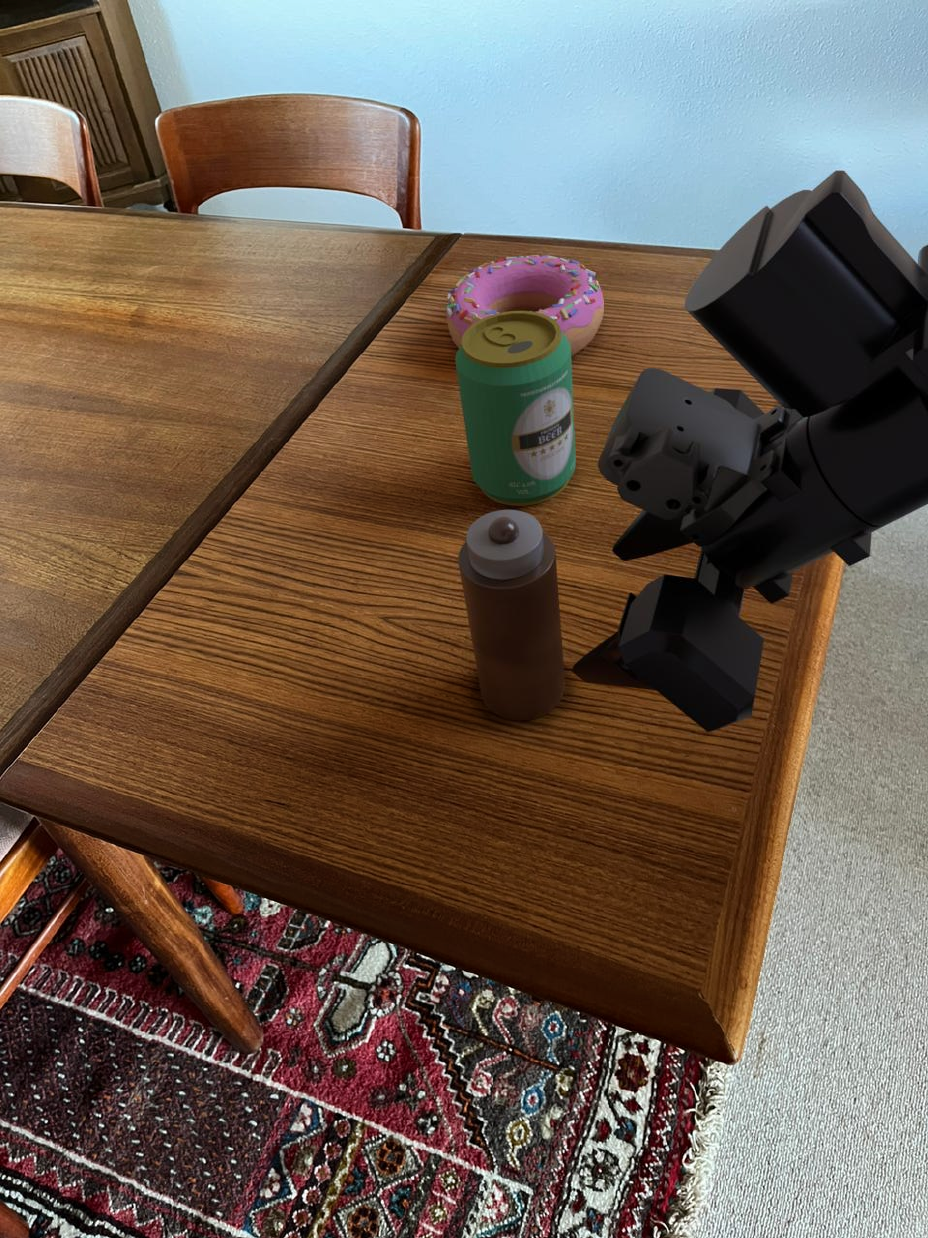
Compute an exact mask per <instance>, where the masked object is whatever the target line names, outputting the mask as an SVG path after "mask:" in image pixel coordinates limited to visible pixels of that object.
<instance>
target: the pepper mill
mask: <svg viewBox="0 0 928 1238" xmlns="http://www.w3.org/2000/svg"><path fill="white" fill-rule="evenodd" d="M461 545H462V546H461V547H460V549H459V553H458V557H457V562H458V563H457V564H458V568H459V569H458V570H459V574H460V581H461V587H462V592H463V597H464V603H465V608H466V609H465V610H466V614H467V621H468V626H469V627H468V628H469V631H470V638H471V644H472V649H473V654H474V655H473V656H474V661H475V667H476V672H477V673H476V674H477V678H478V685H479V688H480V690H479V691H480V696H481V698H482V702H483V703H484V704H485V706H486V707H487V708H488V710H490V711H491V712H492V713H493V714H495V715H496V716H498V717H501V718H503V719H506V720H511V721H515V722H516V721H517V722H519V721H521V722H522V721H525V722H526V721H531V720H535V719H538V718H541V717H544V716H546V715H547V714H549V713H550V712H552V711H553V710H554V709H555V708H556V707H557V706H558V705H559V704H560V703H561V701H562V698H563V697H564V695H565V690H566V681H565V666H564V655H563V653H564V652H563V637H562V636H563V635H562V624H561V623H562V622H561V610H560V597H559V596H560V595H559V594H560V593H559V583H558V582H559V579H558V567H557V552H556V547H555V544H554V541H553V540H552V538H550V536H549V535H548V534H547V533H546V532H545V531H543V528H542V525H541V523H540V522H539V521H538V519H537V518H535V517H534V516H533V515H531V514H529V513H527V512H525V511H521V510H517V509H500V510H493V511H491V512H489V513H486V514H484V515H481V516H480V517H478V518H477V519H476V520H475V521H474V522H472V523H471V525H470V526H469V528H468V529H467V532H466V535H465V541H464V542H463V544H461Z"/></svg>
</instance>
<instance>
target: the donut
mask: <svg viewBox="0 0 928 1238" xmlns="http://www.w3.org/2000/svg"><path fill="white" fill-rule="evenodd" d="M596 274H597V272H595V271H594V270H591V269H589V268H588V269H587V268H586V266H585V265H584V264H582V263H581V262H579V261H577V260H574V259H569V258H563V257H560V258H559V257H557V256H553V255H550V254H547V255H546V254H545V255H539V254H529V255H526V256H524V255H517V256H506V257H504V258H499V259H496V262H494V261H493V260H492V261H490V262H489V261H487V262H485V263H482V264H480V265H478V267H475V268H473V269H471V270H470V271H469V272H467V273H466V274H465V275H464V276H461V277H460V279H459V280H458V282H457V283H456V284H454V288H453V289H451V290H449V291H448V293H447V299H446V303H447V305H446V306H445V310H446V314H445V317H446V324H447V328H448V332H449V333H450V334H449V335H450V337H451V338H452V341H453V343H454V344H455V345H456V347H457V348H458V349H459V348H460V346H461V344H462V341H461V340H462V336H463V334H464V332H465V331H466V330H467V329H468V328H469V327H470V326H471V325H472V324H474V323H475V322H477V321H479V320H481V319H483V318H485V317H488V316H490V315H494V314H497V313H502V312H509V311H531V312H537V313H541V314H544V315H547V316H549V317H551V318H552V319H554V320H555V321H556V322H557V323H558V324H559V326H560V328H561V332H562V333H563V334H564V336H565V337H566V338H567V340H568V341H569V343H570V347H571V357H573V356H574V355H576V354H578V353H579V352H581V351H582V350H583V349H584V348H586V346H587V345H589V344H590V342H591V341H592V340H593V339H594V337H595V336H596V334H597V333H598V331H599V329H600V326H601V323H602V322H603V317H604V314H605V301H604V295H603V291H602V288H601V285H600V284H599V283H600V282H599V281H598V280H597V279H596V278H595V277H596Z"/></svg>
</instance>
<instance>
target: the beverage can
mask: <svg viewBox="0 0 928 1238" xmlns="http://www.w3.org/2000/svg"><path fill="white" fill-rule="evenodd" d="M461 341H462V344H461V346H460V348H458V350H457V352H456V354H455V358H454V360H455V361H454V362H455V368H456V376H457V380H458V381H457V382H458V389H459V397H460V403H461V410H462V416H463V417H462V418H463V423H464V431H465V437H466V445H467V451H468V458H469V463H470V464H469V465H470V473H471V476H472V479H473V481H474V482H475V484H476V485H477V486H478V487H479V488H480V490H481V491H482V492H483V494H484V495H485V496H486V497H487V498H489V499H490V500H492V501H494V502H496V503H499V504H502V505H507V506H515V507H526V506H527V507H528V506H533V505H537V504H541V503H544V502H547V501H549V500H551V499H554V498H555V497H556V496H558V495H559V494H560V493H561V492H563V491H564V490H565V488H566V487H567V485H568V484H569V482H570V479H571V477H572V476H573V474H574V473H575V469H576V467H577V456H576V455H577V454H576V432H575V412H574V411H575V410H574V389H573V367H572V365H573V363H572V356H571V347H570V343H569V341H568V340H567V338H566V337H565V336H564V334H563V333H562V332H561V328H560V326H559V324H558V323H557V322H556V321H555V320H554V319H552V318H551V317H549V316H547V315H544V314H541V313H537V311H532V312H531V311H509V312H502V313H497V314H494V315H490V316H488V317H485V318H483V319H481V320H479V321H477V322H475V323H474V324H472V325H471V326H470V327H469V328H468V329H467V330H466V331H465V332H464V334H463V336H462V340H461Z"/></svg>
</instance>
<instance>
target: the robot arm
mask: <svg viewBox="0 0 928 1238" xmlns="http://www.w3.org/2000/svg"><path fill="white" fill-rule="evenodd" d="M684 309H685V310H686V311H687V312H688V314H690V315H691V317H692V318H694V319H695V321H697V323H699V325H701V326H702V328H703V329H704V330H706V332H708V334H709V335H711V337H712V338H713V339H714V340H715V341H716V342H717V343H718V344H719V345H720V346H721V347H722V348H724V350H726V351H727V353H729V354H730V356H732V357H733V359H734V360H735V361H737V363H738V364H739V365H740V366H741V367H742V368H744V370H746V371H747V373H748V374H749V375H751V377H753V378H754V379H755V381H756V382H758V383H759V385H761V387H763V388H764V390H766V392H767V393H768V394H769V395H770V396H771V397H772V398H773V399H774V400H775V401H776V402H778V404H780V405H776V406H775V407H773V408H771V409H770V410H769V411H767V412H766V413H765V412H764V411H763V410H762V409H761V408H760V407H759V406H758V405H757V404H756V403H755V402H754V401H753V400H752V399H751V398H750V397H749V396H748V395H747V394H746V393H744V391H743V390H742V389H733V388H721V387H719V388H718V387H714V389H712V390H711V391H708V390H706V389H703V388H702V387H699V386H697V385H695V384H693V383H691V382H689V381H686V380H684V379H683V378H680V377H678V376H676V375H674V374H672V373H670V372H668V371H665V370H663V369H660V368H655V367H648V368H645V369H643V370H642V371H641V372H640V374H639V376H638V377H637V379H636V381H635V383H634V384H633V386H632V388H631V390H630V392H629V393H628V395H627V397H626V399H625V401H624V402H623V404H622V406H621V408H620V410H619V411H618V413H617V416H616V417H615V419H614V420H613V422H612V425H611V426H610V431H609V433H608V436H607V439H606V441H605V444H604V447H603V449H602V451H601V453H600V456H599V458H598V460H597V461H598V462H597V467H598V470H599V472H600V474H601V475H602V476H603V478H605V480H607V481H608V482H609V483H611V484H613V485H614V486H617V487H616V490H617V493H618V495H619V497H620V499H621V500H622V501H624V502H626V503H628V504H630V505H632V506H634V507H636V508H639V509H640V510H641V511H640V513H639V514H638V515H637V516H636V517H635V519H634V520H633V521H632V522H631V523H630V524H629V526H628V527H626V529H625V530H624V532H622V534H621V535H620V537H618V539H617V540H616V541H615V543H614V544H613V546H612V549H611V551H612V553H613V554H614V555H615V556H616V557H618V558H619V559H620V560H621V561H623V562H629V561H633V560H638V559H643V558H646V557H651V556H654V555H657V554H660V553H664V552H667V551H671V550H674V549H677V548H680V547H684V546H687V545H690V544H694V545H696V546H697V547H699V548H700V553H699V557H698V561H697V564H696V565H697V566H696V568H695V573H694V576H693V577H688V576H682V575H674V574H666V573H664V574H662V575H661V576H659V577H657V578H656V579H654V580H652V581H650V582H648V583H647V584H646V585H645V586H644V587H643V589H641V591H640V592H639V593H638V595H635V594H634V593H633V592H629V594H628V595H627V599H626V603H625V605H624V609H623V612H622V615H621V619H620V622H619V625H618V628H617V631H615V632H614V633H613V634H612V635H610V636H608V638H606V639H604V640H603V641H602V642H600V643H599V644H598V645H596V646H595V647H593V648H592V649H591V650H590V651H588V652H587V653H586V654H584V656H582V657H581V658H580V659H579V660H577V661H576V662H575V663H574V664H573V666H572V669H571V672H572V673H573V674H574V675H575V676H576V677H578V678H579V679H580V680H581V681H583V682H584V683H587V684H594V685H595V684H596V685H605V686H613V687H620V688H621V687H622V688H630V689H631V688H632V689H639V690H647V691H652V692H653V691H654V692H657V693H659V694H660V695H661V696H662V697H664V698H665V699H666V700H667V701H668V702H670V703H671V704H672V705H673V706H675V708H677V709H678V710H680V711H681V712H682V713H683V714H684V715H685V716H686V717H688V718H689V719H690V720H692V721H693V722H694V723H695V724H697V726H699V727H700V728H702V729H703V730H704V731H705V732H706V733H711V732H714V731H717V730H720V729H724V728H726V727H729V726H731V725H733V724H736V723H739V722H742V721H745V720H746V719H749V718H752V716H753V711H754V705H755V701H756V700H755V698H756V693H757V687H758V682H759V681H758V680H759V675H760V668H761V663H762V655H763V649H764V643H765V638H764V637H763V636H761V634H760V633H758V632H757V631H756V630H755V629H753V627H752V626H750V625H749V624H748V622H746V621H744V619H742V618H741V612H742V606H743V603H744V602H743V601H744V595H745V591H746V590H748V589H751V588H753V590H755V592H758V594H760V596H762V597H763V598H764V599H765V600H766V601H767V602H768V603H770V604H771V605H773V604H775V603H777V602H779V601H781V600H783V599H785V598H788V597H789V596H790V595H791V587H792V581H793V575H794V574H793V573H794V572H796V571H799V570H801V569H802V568H805V567H807V566H808V565H810V564H812V563H814V562H816V561H818V560H820V559H822V558H824V557H826V556H828V555H830V554H832V553H835V555H837V556H838V557H839V558H840V559H841V560H842V562H844V563H845V564H846V565H847V566H848V567H851V566H854V565H855V564H857V563H859V562H861V561H863V560H866V559H867V558H869V557H871V550H872V549H871V546H872V535H873V533H875V532H876V531H878V530H879V529H881V528H884V527H885V526H887V525H890V524H891V523H893V522H895V521H897V520H899V519H901V518H904V517H906V516H907V515H910V514H911V513H913V512H915V511H917V510H919V509H921V508H923V507H925V506H927V505H928V244H927V245H923V246H922V248H921V249H920V250H918V255H917V262H916V260H915V259H914V258H913V256H911V254H910V253H909V252H908V251H907V250H906V249H905V248H904V246H903V245H902V244H901V243H900V242H899V241H898V240H897V238H896V237H894V236H893V234H892V233H891V232H890V231H889V230H888V228H887V227H886V226H885V225H884V224H883V223H882V222H881V221H880V219H879V218H878V217H877V216H876V214H875V213H874V212H873V209H872V207H871V205H870V203H869V201H868V198H867V196H866V195H865V194H864V192H863V190H862V189H861V188H860V187H859V186H858V185H857V183H856V182H855V181H854V180H853V179H852V178H851V177H850V176H849V174H848V173H847V172H846V171H845V170H835V171H833V172H831V174H829V175H828V176H827V177H826V178H825V179H824V180H822V181H821V182H820V183H819V184H817V185H816V186H815V187H814V188H813V189H812V190H811V189H802V190H799V191H797V192H793V194H791V195H789V196H787V197H785V198H783V199H782V200H781V201H779V202H778V203H776V204H775V205H773V207H771V208H770V207H769V206H768V205H766V206H764V207H762V208H761V209H760V210H759V211H758V212H757V213H756V214H754V215H752V217H751V218H750V219H749V220H748V221H746V222H745V224H743V225H742V226H741V227H740V228H739V229H738V230H737V231H736V232H735V233H734V234H733V235H732V236H730V238H729V239H728V240H727V241H726V242H725V243H724V244H723V246H722V247H721V248H720V249H719V250H718V251H717V252H716V253H715V255H714V256H713V257H712V258H711V259H710V260H709V262H708V263H707V265H705V267H704V268H703V270H702V271H701V272H700V274H699V275H698V276H697V277H696V279H695V280H694V282H693V283H692V286H691V287H690V289H689V291H688V293H687V294H686V297H685V301H684Z"/></svg>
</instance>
